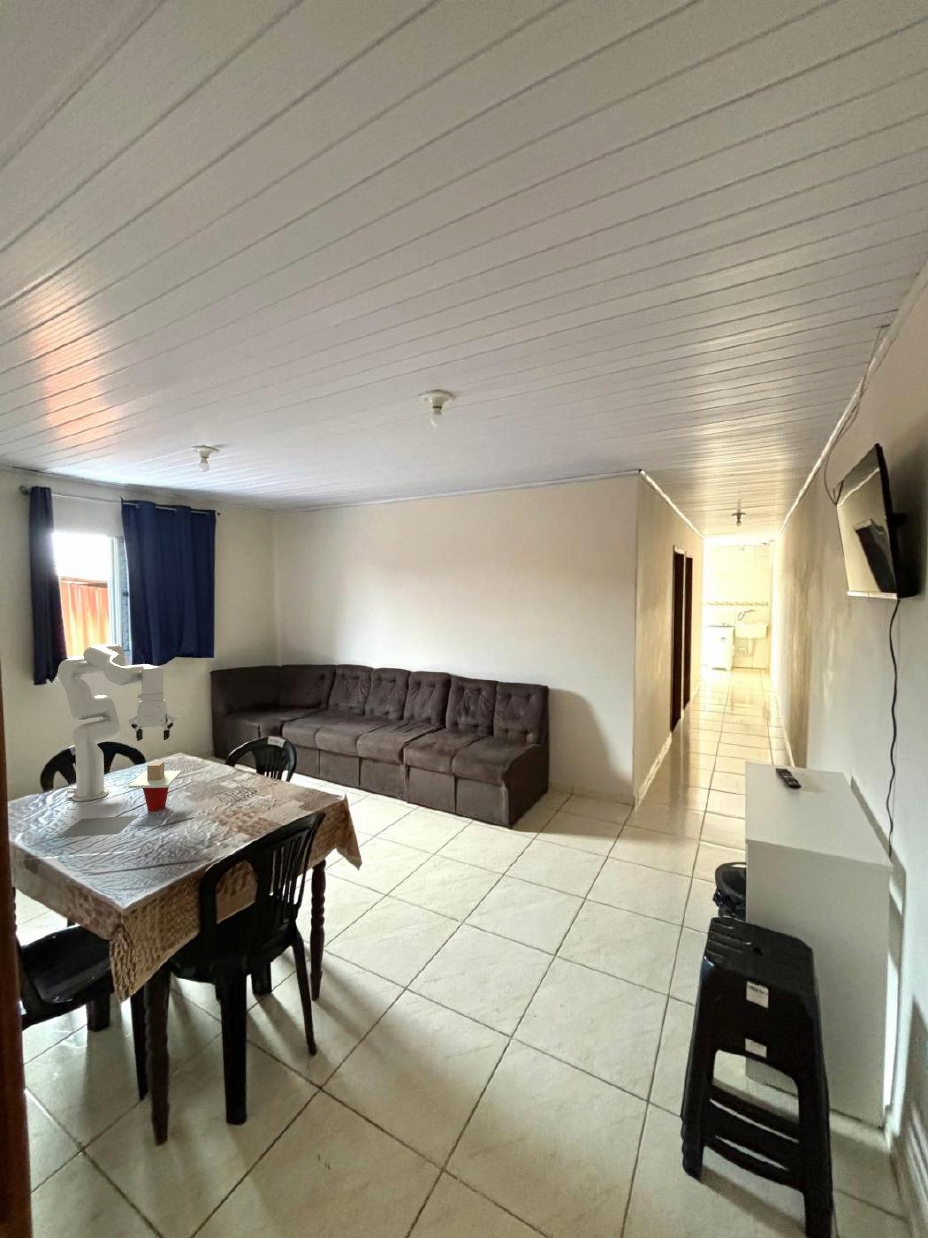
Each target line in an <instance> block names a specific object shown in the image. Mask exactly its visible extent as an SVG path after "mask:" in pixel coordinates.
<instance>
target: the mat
mask: <svg viewBox="0 0 928 1238" xmlns="http://www.w3.org/2000/svg"><path fill="white" fill-rule="evenodd" d="M138 817H140V816H139V815H119V816H108V817H107V816H106V817H105V816H104V817H87V818H80V820H78V821H77V822H75V823H74V824H73V825H71V826H70V827H69V828H67V829H65V830H64V831H63V832H61V834H59V835H58V836H56V837H55V838H56V839H58V838H59V839H63V838H73V837H74V838H75V837H88V836H90V837H91V836H104V835H105V836H108V835H118V834H120V833H121V832H122V831H123V830H125V829H126V827H127V826H129V825H130V824H131V823H132V822H133V821H134V820H135V819H137V818H138Z"/></svg>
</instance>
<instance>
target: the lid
mask: <svg viewBox="0 0 928 1238" xmlns="http://www.w3.org/2000/svg"><path fill="white" fill-rule="evenodd" d="M146 768H147V769H146V771H145V770H144V771H143V772H142V773H141V774H140V775H139V776H138V777H137V778H135V779H134V780H133V781H132V782H131V783H129V785H128V789H143V788H164V787H169V788H170V786H171V785H172V784H173V782H175V780H176V779H178V777H179V776H180V775H181V774H182V770H165V761H164V760H153V761H151V762H150V763H149V764H147V765H146Z"/></svg>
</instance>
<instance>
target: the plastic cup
mask: <svg viewBox="0 0 928 1238" xmlns="http://www.w3.org/2000/svg"><path fill="white" fill-rule="evenodd" d="M169 788H170V786H169V787H164V788H142V791H143V795H144V799H145V804H146V809H147V811H149V812H158V811H161V810H163V809H165V808H166V805H167V800H168V799H167V798H168V793H169Z"/></svg>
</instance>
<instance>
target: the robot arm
mask: <svg viewBox="0 0 928 1238" xmlns="http://www.w3.org/2000/svg"><path fill="white" fill-rule="evenodd" d="M82 655H83V656H76V657H69V658H66V659H64V660H62V661H61V662H60V664H59V665H58V668H57V675H58V679H59V682H60V683H61V685H62V687H63V689H64V691H65V694H66V699H67V703H68V706H69V710H70V714H71V717H72V718H73V720H75V721H78V722H82V721H88V720H92V719H99V720H94V721H89V722H85V723H82V724H80V725H78V726H76V727H75V728H74V729H73V730H72V734H71V735H72V743H73V745H74V750H75V751H74V753H75V769H76V770H75V771H76V772H75V773H76V774H75V776H76V779H75V780H76V786H75V787H74V786H70V787H69V786H68V787H67V789H66V790H67V791H66V793H67V794H72V797H71V799H72V800H73V801H74V802H89V801H93V800H97V799H101V798H103V797H105V796H108V794H109V792H110V791H109V789H108V788H105V771H104V770H105V767H104V765H105V764H104V761H105V760H104V759H105V758H104V752H103V750H102V749H101V748H100V746H99V745H98V744H100V743H105V742H108V741H112V740H115V739H116V738H118V737H119V736H120V734H121V723H120V720H119V715H118V711H117V707H116V704H115V702H114V700H113V699H112V697H111V696H109V695H105V694H101V695H93V693H92V690H91V686H90V685H89V684H88V682H87V681H85V680H84V679H83V678H81V677H86V676H87V677H89V676H95V675H97V676H98V675H102V674H104V677H105V678H106V680H107V681H109V682H111V683H112V684H116V685H117V686H122V687H123V686H124V687H125V686H132V685H138V684H139V685H140V686H141V691H140V694H137V695H138V696H137V698H138V699H140V701H139V702H138V705H137V711H136V716H134V717H131V718H130V719H128V722H129V725H130V727H131V728H132V729H133V730H134V731H135V737H136V741H137V742H139V741H141V740H143V739H144V736H143V735H144V734H143V733H144V732H143V731H144V730H143V729H142V728H145V727H146V728H148V727H149V728H150V727H151V728H155V727H156V728H157V727H162V728H163V729H164V730H163V740H164V741H167V740H168V739H169V738H170V737H171V734H170V733H171V732H170V731H171V730H170V729H171V728H172V727H173V726H174V725H175V723H176V722H177V717H175V716H172V715H171V714H169V713H168V706H167V701H166V699H164V668H163V667H162V666H158V665H151V664H148V663H146V664H145V663H143V664H142V663H141V664H133V665H126V658H125V650H124V648H123V647H122V646H121V645H119V644H116V643H107V644H106V643H105V644H94V645H91V646H89V647H87V648H85V650H84V651H83V654H82ZM125 665H126V666H125ZM169 720H170V723H169Z"/></svg>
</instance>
